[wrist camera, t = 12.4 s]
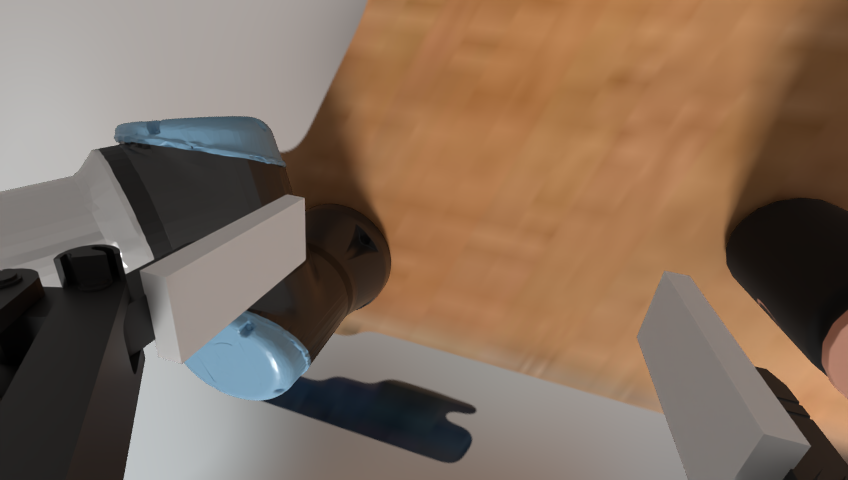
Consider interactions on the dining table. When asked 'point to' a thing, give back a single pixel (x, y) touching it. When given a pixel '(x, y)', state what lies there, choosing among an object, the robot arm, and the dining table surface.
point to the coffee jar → (799, 276)
